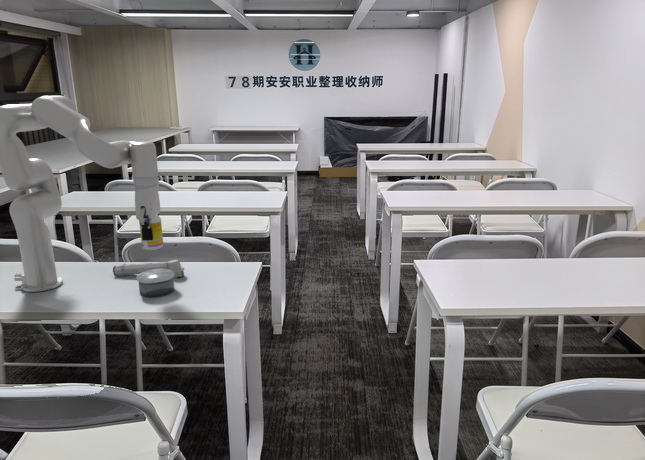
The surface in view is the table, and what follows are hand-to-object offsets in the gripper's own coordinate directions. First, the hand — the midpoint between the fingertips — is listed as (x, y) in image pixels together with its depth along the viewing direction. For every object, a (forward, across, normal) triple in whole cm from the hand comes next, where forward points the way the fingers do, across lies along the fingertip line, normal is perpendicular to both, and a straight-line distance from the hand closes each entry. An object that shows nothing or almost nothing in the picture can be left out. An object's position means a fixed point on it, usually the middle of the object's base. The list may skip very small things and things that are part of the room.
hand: (151, 236), depth 164 cm
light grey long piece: (+19, -14, -7) cm, 25 cm away
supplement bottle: (+4, 0, 0) cm, 4 cm away
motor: (+19, 0, 0) cm, 19 cm away
